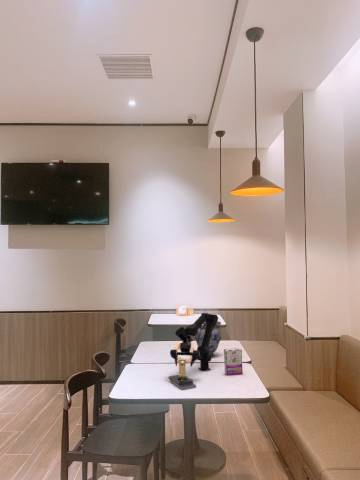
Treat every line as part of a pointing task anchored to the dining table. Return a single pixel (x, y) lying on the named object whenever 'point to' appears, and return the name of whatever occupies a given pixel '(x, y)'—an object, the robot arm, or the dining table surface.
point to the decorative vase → (213, 340)
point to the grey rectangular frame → (182, 382)
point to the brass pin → (182, 370)
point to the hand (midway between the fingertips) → (183, 366)
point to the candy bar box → (233, 361)
